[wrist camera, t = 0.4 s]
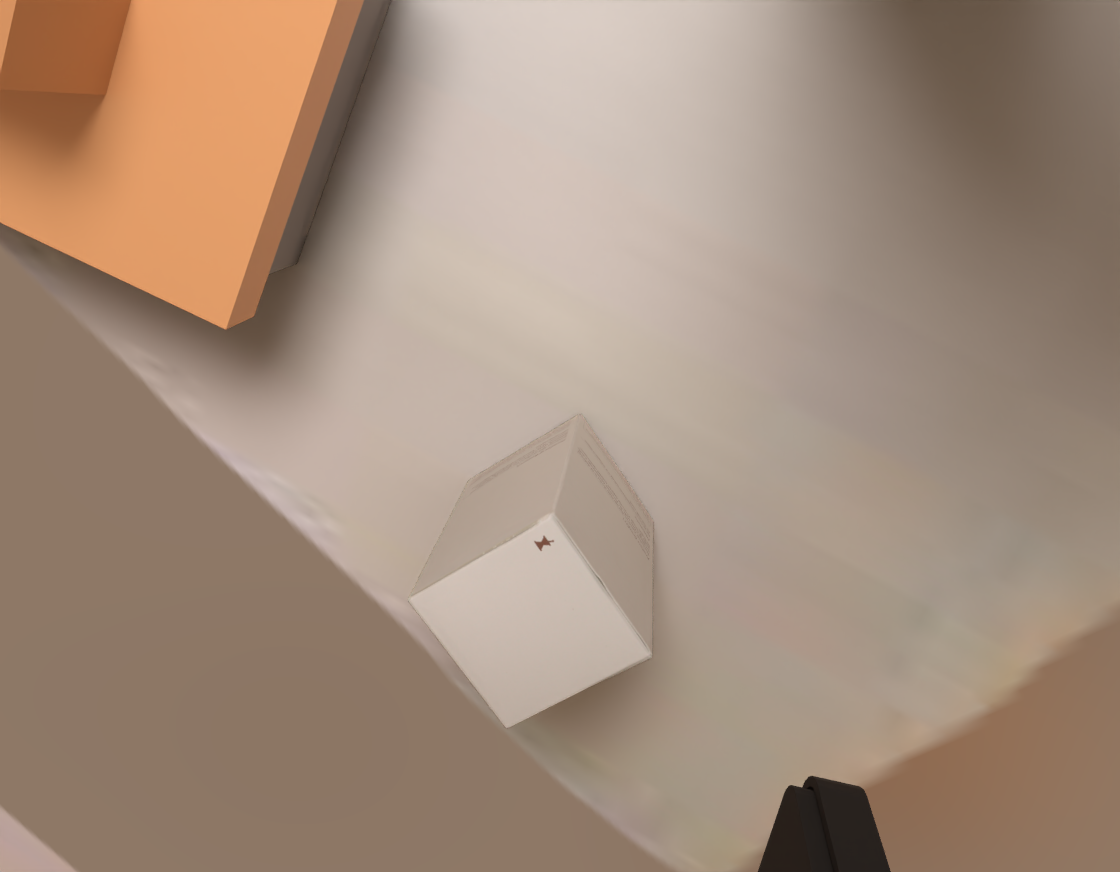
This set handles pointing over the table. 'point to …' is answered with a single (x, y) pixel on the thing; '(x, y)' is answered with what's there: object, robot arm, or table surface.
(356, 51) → the tub
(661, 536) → the table surface
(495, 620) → the supplement box
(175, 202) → the lid
